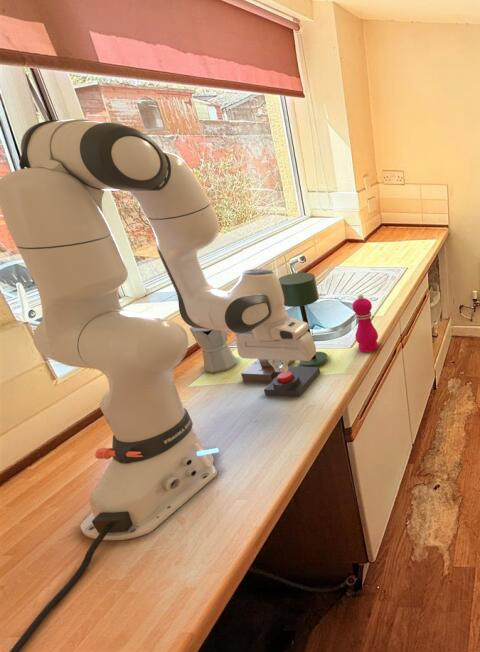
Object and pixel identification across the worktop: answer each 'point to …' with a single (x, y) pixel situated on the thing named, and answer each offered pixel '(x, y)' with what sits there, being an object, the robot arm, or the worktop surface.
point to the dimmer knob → (264, 362)
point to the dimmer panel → (261, 372)
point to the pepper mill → (365, 325)
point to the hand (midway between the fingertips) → (282, 371)
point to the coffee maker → (214, 349)
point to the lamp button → (285, 377)
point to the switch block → (293, 382)
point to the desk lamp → (302, 304)
